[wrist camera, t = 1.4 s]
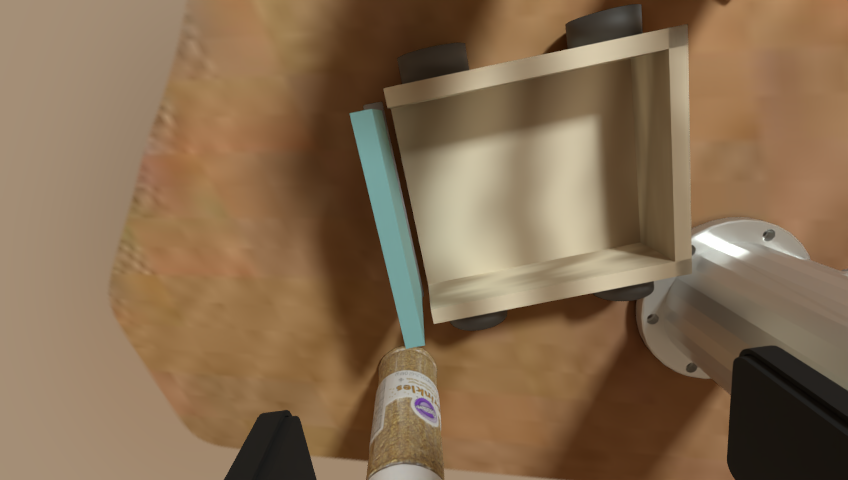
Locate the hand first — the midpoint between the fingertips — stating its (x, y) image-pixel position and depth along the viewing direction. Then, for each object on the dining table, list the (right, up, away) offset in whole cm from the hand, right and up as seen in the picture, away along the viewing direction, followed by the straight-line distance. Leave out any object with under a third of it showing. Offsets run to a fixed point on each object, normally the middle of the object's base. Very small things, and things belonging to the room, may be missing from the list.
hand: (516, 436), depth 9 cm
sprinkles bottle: (-3, -6, +24) cm, 25 cm away
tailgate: (-4, +6, +18) cm, 20 cm away
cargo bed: (+5, +9, +20) cm, 22 cm away
